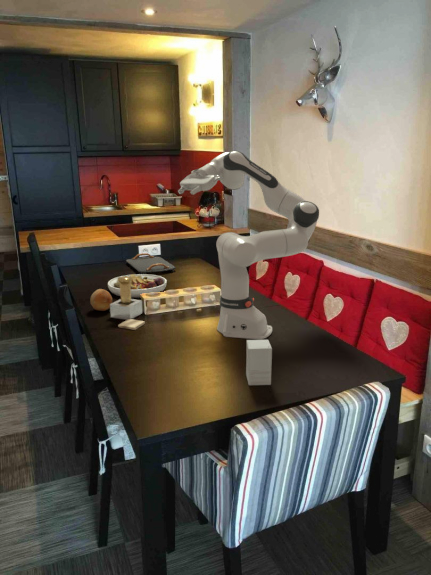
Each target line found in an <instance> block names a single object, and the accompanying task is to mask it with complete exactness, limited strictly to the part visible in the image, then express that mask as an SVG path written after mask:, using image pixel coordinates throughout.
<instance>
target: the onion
mask: <svg viewBox="0 0 431 575" xmlns="http://www.w3.org/2000/svg"><path fill="white" fill-rule="evenodd" d="M89 301H90V305H91V307H92V308H93V309H94V310H96V311H100V312H105V311H107V310H108V309H110V304H111V303H113V297H112V295H111V292H109V291H107V290H106V289H105V288H104V289H102V288H99V289H96V290H95V291H94V292H93V293H92V294H91V296H90V300H89Z"/></svg>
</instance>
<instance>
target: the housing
mask: <svg viewBox="0 0 431 575" xmlns="http://www.w3.org/2000/svg"><path fill="white" fill-rule="evenodd" d="M109 309H110V310H109V312H110V318H113V319H119V320H125V321H126V320H128V319H133V320H134V319H135V318H137V317H138V316H140V315H141V314H143V300H141V299H134V298H131V304H129V305H124V304H121V298H119V299H118V300H116V301H114V302H113V301H112V303H111V304H110V307H109Z"/></svg>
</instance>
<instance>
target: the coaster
mask: <svg viewBox="0 0 431 575" xmlns="http://www.w3.org/2000/svg"><path fill="white" fill-rule="evenodd" d="M145 324H146V321H145V320H144V321H143V320H138V319H134V318H133V319H128V320H125V321H122V322H121V323H119V324H117V327H118V328H121V329H126V330H133V331H136V330H137V329H139V328H141V327H142V326H144V325H145Z"/></svg>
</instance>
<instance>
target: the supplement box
mask: <svg viewBox="0 0 431 575" xmlns="http://www.w3.org/2000/svg"><path fill="white" fill-rule="evenodd" d="M245 352H246V359H245V360H246V361H245V362H246V364H245V366H246V367H245V376H246V379H247V384H248V386H272V359H273V348H272V345H271V343H270V341H269V339H246V351H245Z"/></svg>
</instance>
